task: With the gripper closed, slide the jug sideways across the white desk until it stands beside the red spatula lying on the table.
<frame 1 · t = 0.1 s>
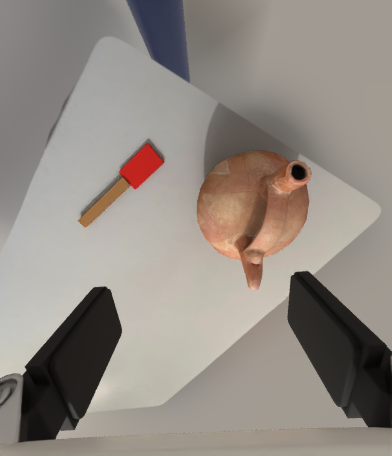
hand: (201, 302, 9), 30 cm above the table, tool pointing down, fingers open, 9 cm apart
spatula: (118, 190, 38), on the table
jug: (239, 201, 38), on the table
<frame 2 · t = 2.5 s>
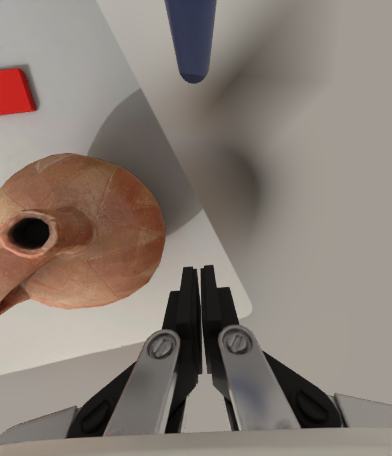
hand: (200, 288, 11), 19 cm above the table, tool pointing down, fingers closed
jug: (115, 218, 29), on the table
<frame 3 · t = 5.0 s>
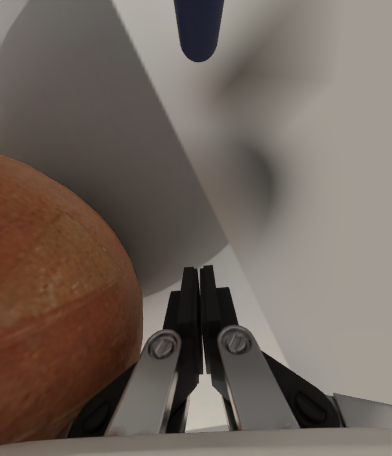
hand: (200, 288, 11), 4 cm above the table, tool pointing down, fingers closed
jug: (54, 261, 15), on the table, touching gripper
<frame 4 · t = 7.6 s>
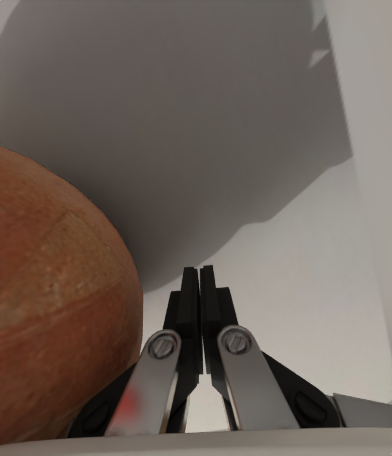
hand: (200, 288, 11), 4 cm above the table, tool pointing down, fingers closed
jug: (54, 256, 15), on the table, touching gripper
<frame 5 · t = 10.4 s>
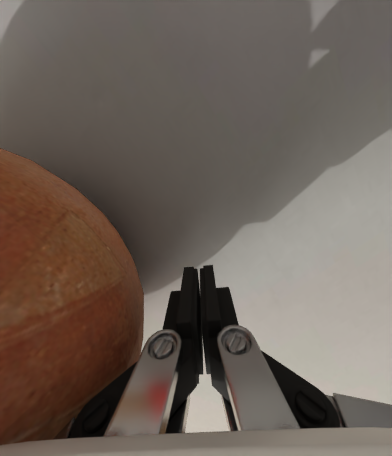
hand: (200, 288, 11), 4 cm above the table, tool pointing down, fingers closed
jug: (55, 257, 15), on the table, touching gripper
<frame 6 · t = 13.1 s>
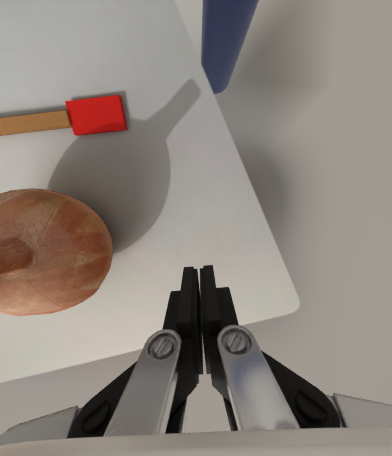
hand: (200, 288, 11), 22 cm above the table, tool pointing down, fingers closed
spatula: (54, 122, 28), on the table
jug: (77, 235, 34), on the table
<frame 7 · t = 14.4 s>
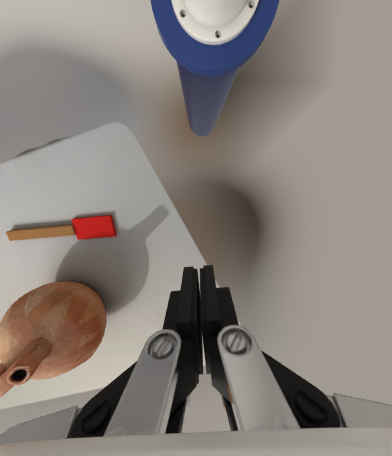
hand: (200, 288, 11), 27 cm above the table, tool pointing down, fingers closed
spatula: (63, 229, 38), on the table
jug: (79, 301, 44), on the table
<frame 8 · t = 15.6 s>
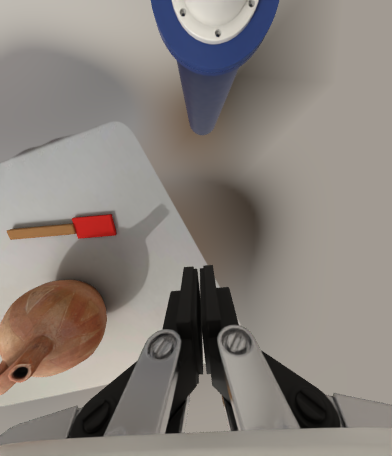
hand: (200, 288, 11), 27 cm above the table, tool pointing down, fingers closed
spatula: (63, 228, 38), on the table
jug: (80, 300, 44), on the table
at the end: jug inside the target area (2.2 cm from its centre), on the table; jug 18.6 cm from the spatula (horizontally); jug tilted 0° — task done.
